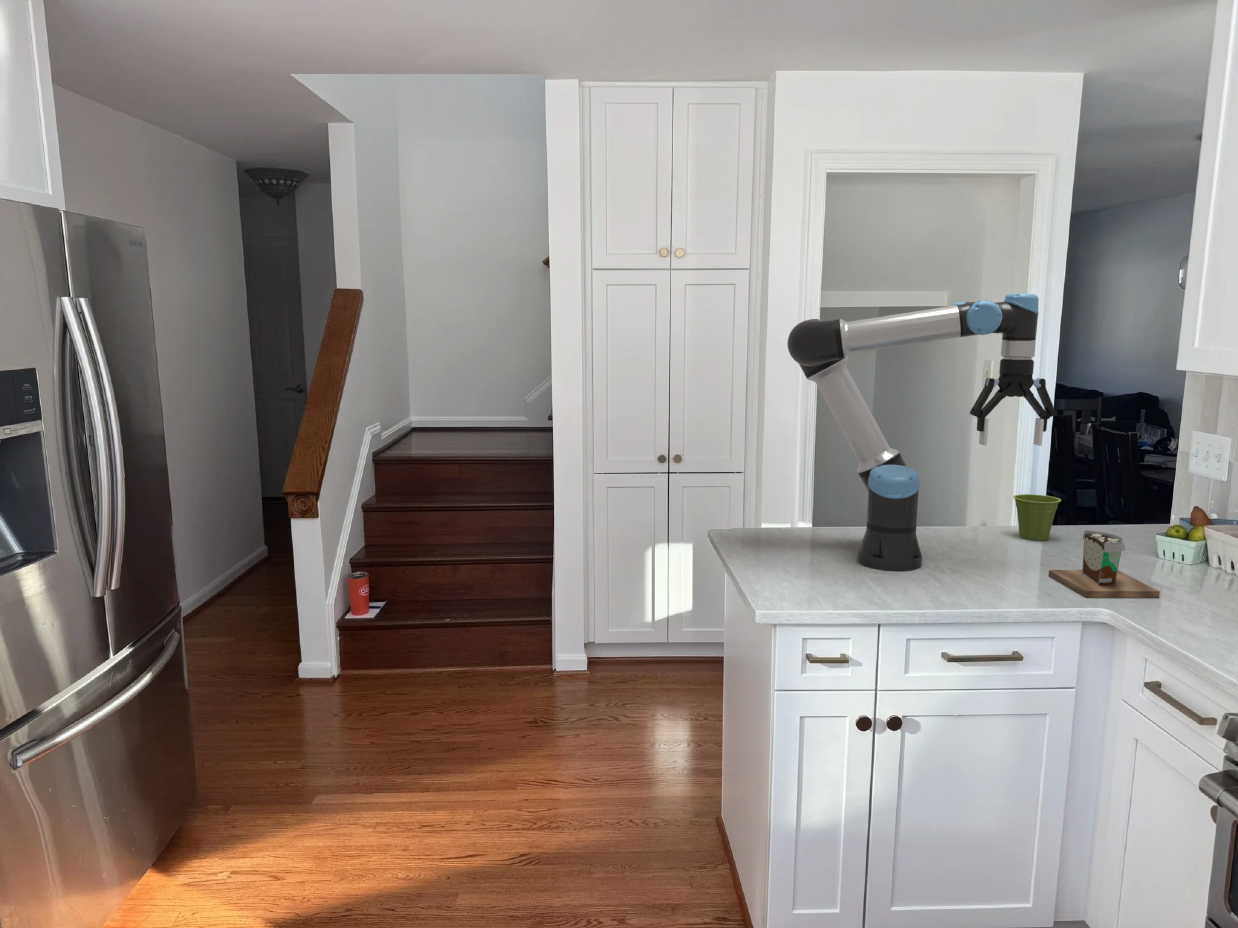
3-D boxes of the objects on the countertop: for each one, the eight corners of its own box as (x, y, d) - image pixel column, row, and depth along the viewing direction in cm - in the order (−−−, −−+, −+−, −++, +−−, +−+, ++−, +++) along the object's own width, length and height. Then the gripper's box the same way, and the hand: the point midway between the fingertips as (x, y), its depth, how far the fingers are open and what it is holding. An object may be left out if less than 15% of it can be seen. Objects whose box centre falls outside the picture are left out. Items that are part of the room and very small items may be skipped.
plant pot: (1059, 536, 239) (1062, 496, 237) (1055, 545, 229) (1059, 504, 227) (1012, 530, 245) (1016, 491, 243) (1007, 539, 235) (1010, 499, 234)
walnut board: (1085, 597, 186) (1086, 590, 186) (1048, 575, 202) (1049, 569, 201) (1159, 597, 186) (1159, 591, 186) (1116, 576, 202) (1116, 569, 202)
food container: (1131, 588, 187) (1136, 544, 186) (1101, 587, 188) (1105, 543, 186) (1107, 572, 199) (1112, 530, 198) (1079, 571, 200) (1083, 529, 198)
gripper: (1060, 358, 213) (1052, 442, 216) (960, 357, 213) (954, 442, 216) (1076, 359, 206) (1068, 447, 209) (972, 358, 205) (966, 446, 209)
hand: (1010, 444), depth 213 cm, fingers open, 13 cm apart
